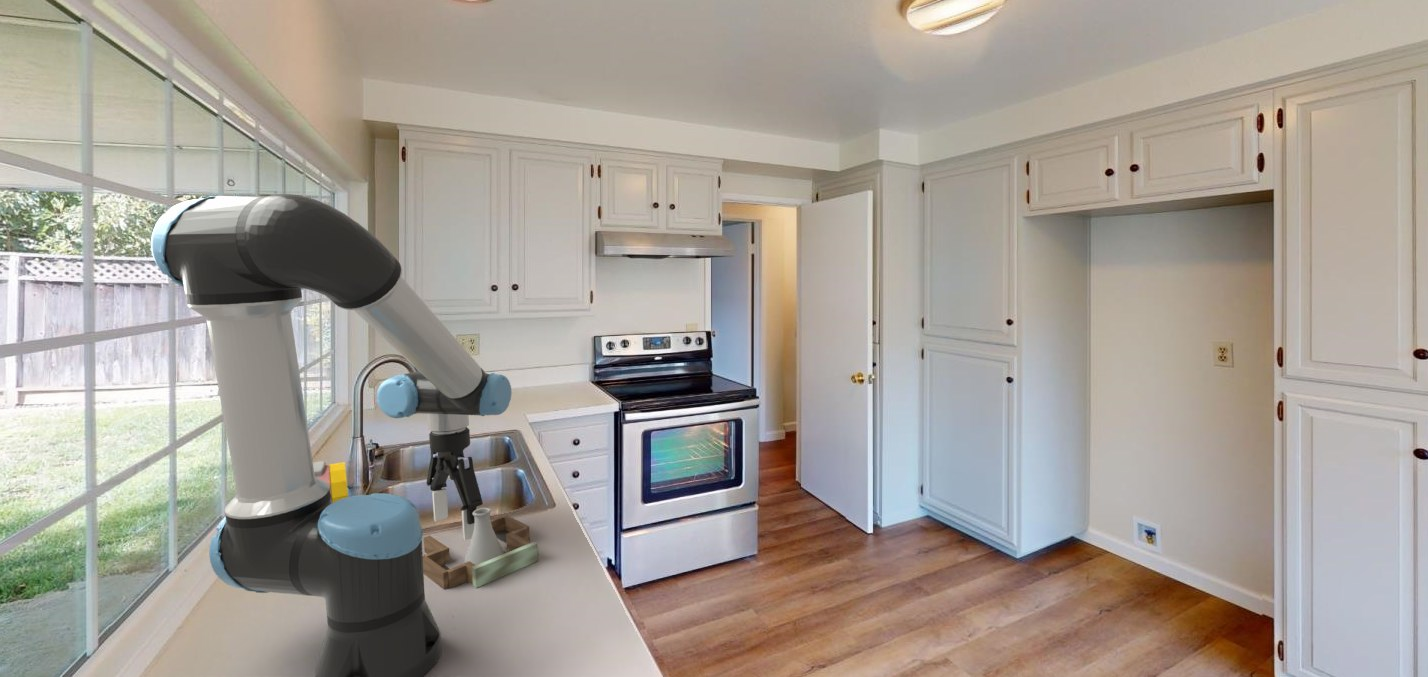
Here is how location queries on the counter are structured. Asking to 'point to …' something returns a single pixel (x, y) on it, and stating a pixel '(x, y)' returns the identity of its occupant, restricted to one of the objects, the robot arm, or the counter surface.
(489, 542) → the flask
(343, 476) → the alarm clock
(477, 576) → the box
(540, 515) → the counter surface
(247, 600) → the counter surface
